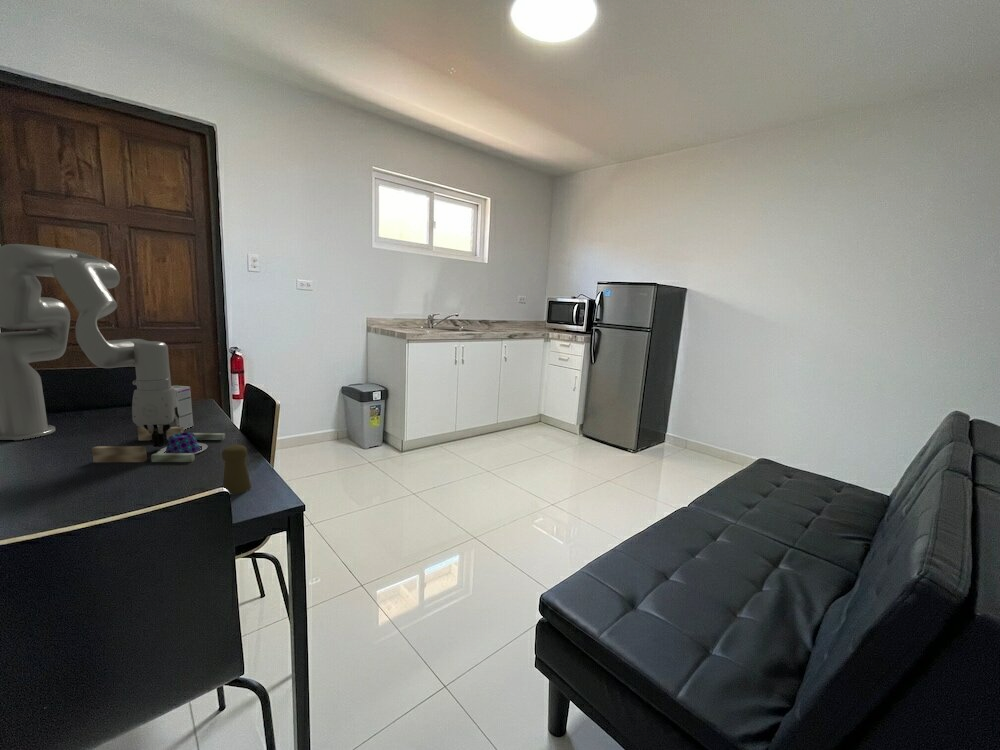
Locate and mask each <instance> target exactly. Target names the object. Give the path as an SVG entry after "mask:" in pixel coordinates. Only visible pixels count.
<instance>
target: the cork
mask: <svg viewBox="0 0 1000 750" xmlns="http://www.w3.org/2000/svg"><path fill="white" fill-rule="evenodd" d="M247 456H248V449H247V447H246V446H244V445H241V444H233V445H228V446H226V447H225V448H224V449H223V450H222V452H221V458H222V460H223V461H224V470H223V480H222V481H223V482H222V488H223V487H224V488H226V489H228V490H229V491H230V493H232V494H236V495H241V494H243V492H244V493H247V492H248V491H250V490H251V489H250V488H252V483H251V481H250V480H251V479H250V476H249V471H248V466H247V461H246V458H247ZM249 489H250V490H249ZM247 490H248V491H247ZM246 491H247V492H246ZM232 494H231V495H230V496H233V495H232Z"/></svg>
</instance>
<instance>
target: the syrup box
mask: <svg viewBox="0 0 1000 750" xmlns="http://www.w3.org/2000/svg"><path fill="white" fill-rule="evenodd" d="M171 388H174V391H175V394H176V397H177V401H178V406H179V414H180V417H179V419H178V421H179V423H180V424H179V425H178V426H176V427H183V431H185V429H186V430H188V429H187V428H189V429H191V428H190V427H192V426H193V427H194V419H193V418H194V416H193V408H192V407H193V406H192V396H191V395H192V394H191V386H186V385H185V386H184V385H171ZM193 427H192V428H193Z"/></svg>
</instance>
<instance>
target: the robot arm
mask: <svg viewBox="0 0 1000 750" xmlns="http://www.w3.org/2000/svg"><path fill="white" fill-rule="evenodd" d="M38 277H46V278H55V280H56V281H57V282H58V284H59V285H60V287H61V288H62V289H63V291H64V292H65V294H66V296H67V297H68V298H69V300H70V302H71V303H72V304H73V306H74V307H75V309H76V311H77V312H78V314H79V315H78V318H77V320H76V323H75V333H74V334H75V339H76V342H77V344H78V346H79V347H80V348H81V351H82V352H83V353H84V354H85V356H86V357H87V358H88V359H89V361H90V362H91V363H92V364H93V365H95V366H97V367H98V368H102V369H115V368H121V367H127V366H128V367H129V366H134V367H135V368H134V369H135V377H136V378H135V380H132V385H133V386H136V389H134V390H133V395H132V401H131V402H132V403H131V414H132V415H131V416H132V422H133V423H134V424H135V425H136V427H138V428H139V427H144V428H146V429H147V430H148V431H149V433H150V434H152V441H151V442H152V444H153V447H154V448H157V447H158V448H161V447H163V446H164V445H167V443H168V441H167V435H166V431H168V429H169V428H171V427H176V426H178V425H179V424H180V423H179V421H178V419H179V417H180V414H179V406H178V401H177V397H176V394H175V391H174V388H171V386H172V381H171V380H172V379H171V378H172V377H171V370H170V358H169V347H168V345H167V344H166V343H165V342H163V341H157V340H154V341H153V340H152V341H151V340H146V339H142V338H124V339H122V338H121V339H113V340H106V339H105V337H104V336H103V334H102V332H101V331H100V328H99V326H98V320H100V319H102V318H104V317H107V316H109V315H110V314H112V313H113V312H114V311H116V310H117V307H118V303H117V301H116V300H115V299H114V297H113V295H112V294H111V292H110V291H109V289H114V288H116V287H118V286H119V284H120V280H121V277H120V272H119V270H118V269H117V268H116V266H115V265H113V264H112V263H111V262H109V261H107V260H105V259H103V258H100V257H97V256H93V255H90V254H88V253H84V252H81V251H80V250H79V251H78V250H74V249H70V248H69V249H68V248H60V247H50V246H45V245H37V244H36V245H35V244H24V243H23V244H22V243H9V244H4V245H1V246H0V327H1V328H3V329H7V330H15V331H5V332H0V440H14V441H22V440H23V439H24V440H29V439H30V438H31V439H35V437H36V438H40V436H41V437H43V436H47V435H50V434H53V433H54V432H56V426H54V425H51V424H48V418H47V411H46V403H45V398H44V397H45V396H44V392H43V391H44V390H43V384H42V377H41V375H40V374H39V373H38V371H37V370H36V369H34V368H33V366H31V365H30V364H31V363H36V362H37V363H38V362H45V361H52V360H57V359H60V358H61V357H63V355H64V354H65V352H66V350H67V346H68V341H69V340H68V337H69V332H70V325H71V313H70V310H69V308H68V306H67V305H66V304H65V303H64V302H63V301H62V300H59V299H57V298H55V297H47V296H46V297H44V296H43V297H42V289H43V288H42V284H41V282H40V280H39V279H38ZM16 330H17V331H16ZM19 330H21V331H19ZM24 330H26V331H24ZM27 330H28V331H27ZM31 439H30V440H31Z"/></svg>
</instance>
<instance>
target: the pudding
mask: <svg viewBox="0 0 1000 750" xmlns="http://www.w3.org/2000/svg"><path fill="white" fill-rule="evenodd" d="M193 433H194V432H184V433H178V434H174V435H172V436H170V437H169V440H168V441H167V443H166V446H165V447H163V448H160V449H159V450H158V451H157V452H156V453H164V452H165V451H166V452H165V453H194V455H197V454H198V453H202V452H203V451H206V450H207V448H208V446H209V445H207V444H206V443H202V442H198V441H197V440H196V437H195V435H194V434H193ZM199 446H202V450H200V449H201V448H200V447H199ZM199 450H200V451H199Z"/></svg>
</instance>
